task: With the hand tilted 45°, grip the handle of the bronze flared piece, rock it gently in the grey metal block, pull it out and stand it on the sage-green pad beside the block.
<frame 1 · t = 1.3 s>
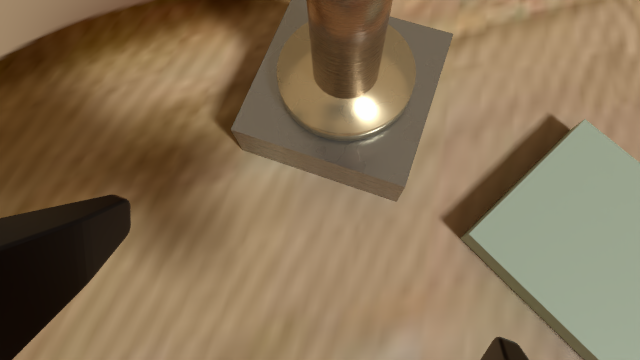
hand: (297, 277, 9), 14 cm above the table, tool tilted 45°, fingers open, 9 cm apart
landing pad: (587, 244, 23), on the table
bore block: (344, 105, 26), on the table
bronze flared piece: (344, 101, 25), point 1 cm above the table, touching bore block
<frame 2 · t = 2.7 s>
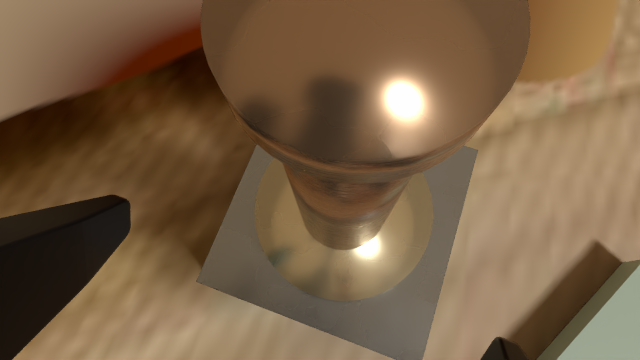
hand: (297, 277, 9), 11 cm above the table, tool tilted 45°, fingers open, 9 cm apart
bore block: (341, 226, 21), on the table
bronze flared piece: (341, 224, 21), point 1 cm above the table, touching bore block
when the fingers open (10 cm above the table, at t = 9.4 s): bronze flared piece stays where it is, resting on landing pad.
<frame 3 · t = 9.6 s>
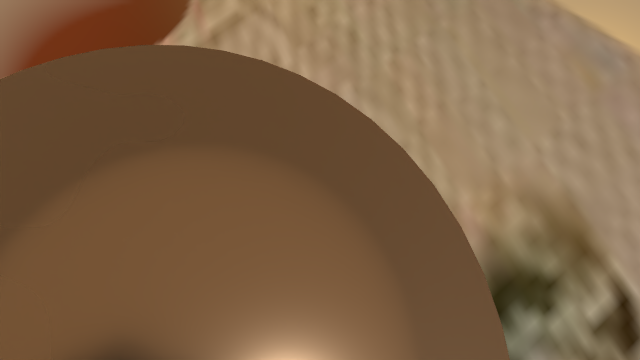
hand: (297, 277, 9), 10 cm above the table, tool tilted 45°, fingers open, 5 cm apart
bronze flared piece: (303, 323, 17), point 2 cm above the table, touching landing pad
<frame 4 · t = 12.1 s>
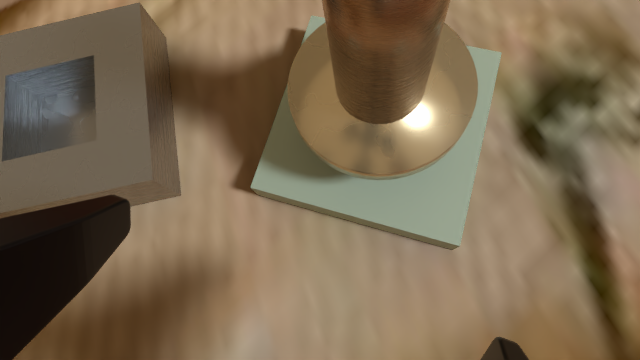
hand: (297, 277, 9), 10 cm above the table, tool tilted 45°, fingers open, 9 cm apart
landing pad: (376, 130, 21), on the table
bore block: (88, 130, 23), on the table
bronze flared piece: (377, 120, 20), point 2 cm above the table, touching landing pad
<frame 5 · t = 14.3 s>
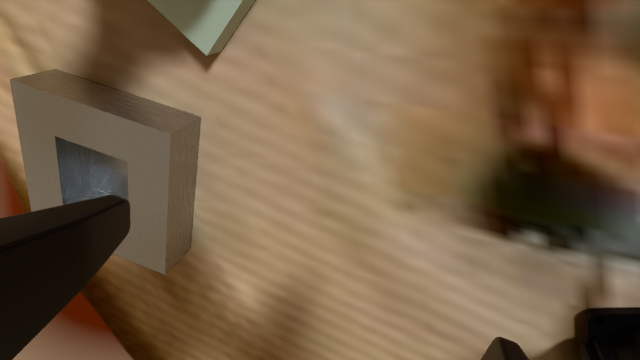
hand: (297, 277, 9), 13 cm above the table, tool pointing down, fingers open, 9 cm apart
bore block: (127, 164, 27), on the table
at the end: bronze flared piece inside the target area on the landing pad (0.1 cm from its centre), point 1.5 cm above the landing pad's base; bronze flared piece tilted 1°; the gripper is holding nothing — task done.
